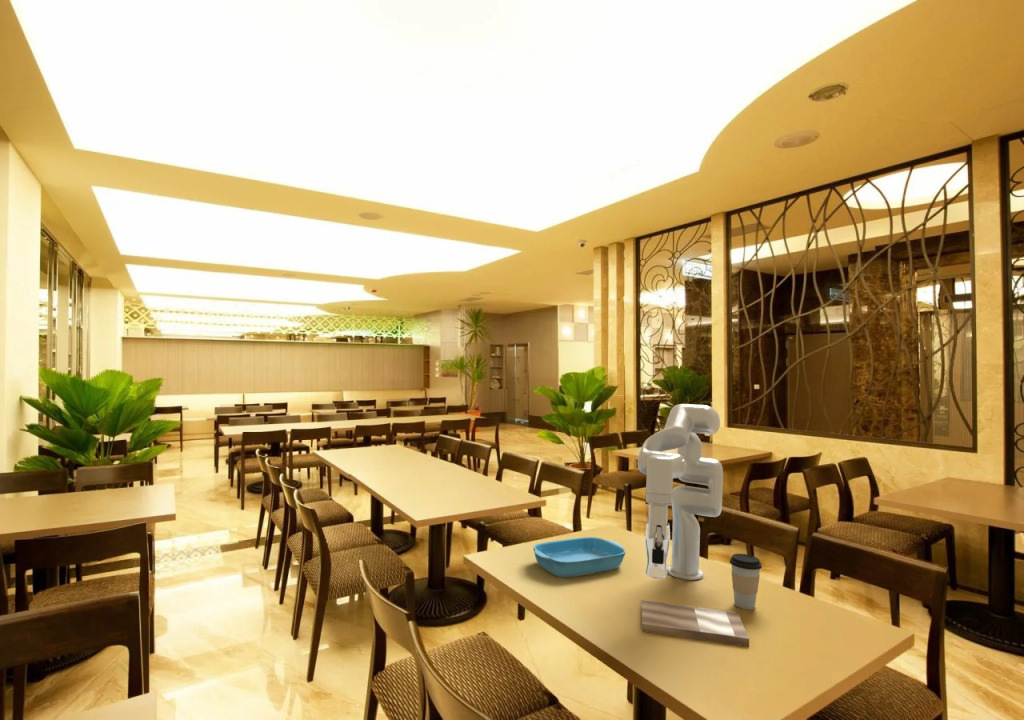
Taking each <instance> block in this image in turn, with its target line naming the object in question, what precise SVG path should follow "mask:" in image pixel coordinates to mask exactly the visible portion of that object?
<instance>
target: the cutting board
mask: <svg viewBox="0 0 1024 720" xmlns="http://www.w3.org/2000/svg"><path fill="white" fill-rule="evenodd" d="M640 614H641V618H640V619H641V620H642V621H641V632H646V631H648V632H647V633H653V632H655V633H654V634H662V635H668V636H675V637H681V638H682V637H683V638H688V639H696V640H697V639H698V640H704V641H711V642H716V641H717V643H725V644H730V643H731V644H730V645H737V644H740V645H739V646H744V645H747V646H746V647H749V646H750V637H749V635H748V633H747V630H746V628H745V626H744V624H743V623H744V622H742V619H741V617H740V614H739V612H736V611H729V610H722V609H721V610H720V609H713V608H706V607H705V608H704V607H698V606H692V605H691V606H690V605H682V604H674V603H666V602H659V601H651V600H644V599H641V600H640Z"/></svg>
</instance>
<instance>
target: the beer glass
mask: <svg viewBox="0 0 1024 720" xmlns="http://www.w3.org/2000/svg"><path fill="white" fill-rule="evenodd" d="M645 526H646V527H645V549H646V555H647V566H646V570H645V574H646V576H648V577H650V578H653V579H660V580H661V579H662V580H663V579H665V578H667V577H668V572H667V561H668V554H669V550H670V545H671V544H670V543H671V529H670V527H671V526H670V523H669V522H667V532H666V539H665V540H664V539H663V550H664V563H663V564H655V563H652V549H653V538H654V537H653V538H651V539H650V538H649V537H648V527H649V523H648V521H647V520H646V525H645ZM656 531H657V526H656ZM663 537H664V536H663ZM655 538H657V532H656V535H655ZM661 539H662V536H661ZM656 542H657V541H656V540H655V543H656Z"/></svg>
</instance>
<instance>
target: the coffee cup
mask: <svg viewBox="0 0 1024 720" xmlns="http://www.w3.org/2000/svg"><path fill="white" fill-rule="evenodd" d="M729 564H730V565H731V581H732V582H731V583H732V589H733V598H734V599H733V601H734V605H735V606H736V607H739V608H740V609H743V610H753V609H755V608H756V602H757V601H756V600H757V594H758V589H759V583H760V571H761V569H763V566H762V563H761V562H760V558H758V557H757V556H754V555H752V554H748V553H747V554H746V553H734V554H732V556H731V557H730V558H729Z"/></svg>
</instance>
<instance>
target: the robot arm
mask: <svg viewBox="0 0 1024 720" xmlns="http://www.w3.org/2000/svg"><path fill="white" fill-rule="evenodd" d="M720 425H721V419H720V415H719V413H718V412H717V410H715V409H714V408H713V407H711V406H709V405H707V404H705V405H704V404H692V403H691V404H689V403H680V404H676V405H673V407H672V408H671V409H670V412H669V414H668V417H667V419H666V422H665V425H664V428H663V429H661V430H659V431H657V432H656V433H653V434H652V435H650V436H649V437H648V438H647V439H645V441H644V442H643V444H642V446H641V449H640V451H639V452H638V453H639V454H638V457H637V468H638V470H639V472H640V473H642V474H644V475H646V480H645V481H646V484H645V486H646V487H645V488H646V489H645V503H647V504H649V505H648V513H647V514H648V518H647V519H648V523H649V527H648V537H649V538H650V539H651V538H653V537H654V538H653V549H652V563H655V564H663V563H664V550H663V539H664V540H665V539H666V532H667V523H668V516H669V515H668V513H669V512H668V511H669V506H671V513H672V532H671V533H672V535H671V536H672V539H671V564H669V565H668V566H666V569H667V574H669V575H670V576H672V577H675V578H677V579H681V580H688V581H696V580H697V579H698V580H701V579H703V578H704V572H703V570H701V569H700V545H701V544H700V542H701V541H700V540H701V538H700V537H701V527H700V524H699V523H700V522H699V521H698V519H697V518H696V516H695V515H697V516H704V517H711V518H712V517H713V518H716V517H718V516H721V513H722V510H723V509H722V507H723V490H724V489H723V487H724V486H723V485H724V469H723V465H722V463H721V462H720V461H719V460H717V459H715V458H709V457H708V458H707V457H703V455H702V454H703V452H702V451H703V443H702V441H701V438H700V437H699V436H698V435H697V434H704V435H715V434H716V433H718V432H719V429H720ZM676 449H677V453H674V452H667V451H671V450H676ZM674 479H678V480H680V481H682V482H684V483H691V484H696V485H697V484H698V485H705V486H707V487H708V488H704V487H696V486H690V485H678V486H676V487H674V485H673V484H674ZM656 526H657V531H656ZM656 532H657V538H655V535H656ZM661 536H662V539H661ZM663 536H664V537H663ZM655 540H656V541H657V542H656V543H655Z"/></svg>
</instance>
